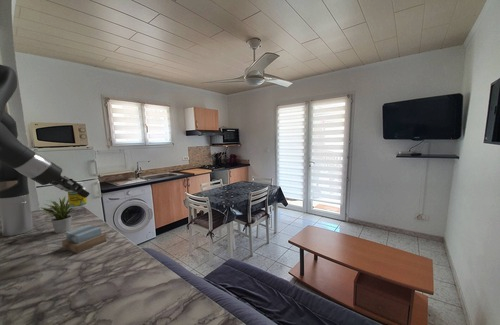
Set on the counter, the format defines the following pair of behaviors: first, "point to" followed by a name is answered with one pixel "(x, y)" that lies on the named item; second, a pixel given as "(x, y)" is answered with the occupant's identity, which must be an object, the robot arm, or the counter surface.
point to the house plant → (60, 216)
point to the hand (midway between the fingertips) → (83, 194)
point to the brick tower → (83, 238)
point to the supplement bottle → (76, 198)
